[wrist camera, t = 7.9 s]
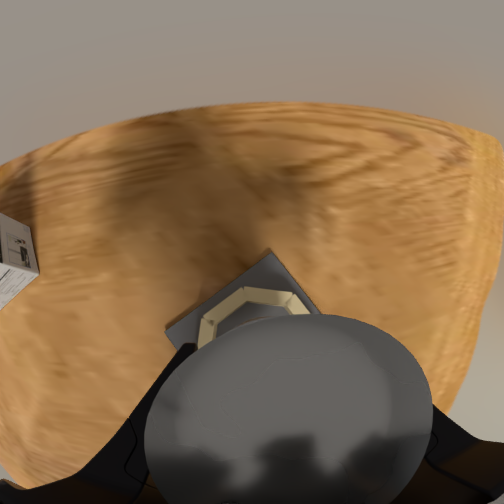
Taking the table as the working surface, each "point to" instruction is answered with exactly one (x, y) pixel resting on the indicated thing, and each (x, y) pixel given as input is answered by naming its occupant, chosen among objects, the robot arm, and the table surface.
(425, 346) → the table surface
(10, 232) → the light bulb box
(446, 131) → the table surface
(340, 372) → the piston
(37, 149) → the table surface
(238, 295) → the ring collar
